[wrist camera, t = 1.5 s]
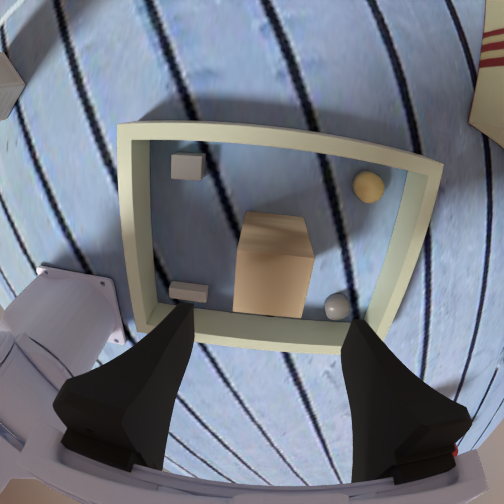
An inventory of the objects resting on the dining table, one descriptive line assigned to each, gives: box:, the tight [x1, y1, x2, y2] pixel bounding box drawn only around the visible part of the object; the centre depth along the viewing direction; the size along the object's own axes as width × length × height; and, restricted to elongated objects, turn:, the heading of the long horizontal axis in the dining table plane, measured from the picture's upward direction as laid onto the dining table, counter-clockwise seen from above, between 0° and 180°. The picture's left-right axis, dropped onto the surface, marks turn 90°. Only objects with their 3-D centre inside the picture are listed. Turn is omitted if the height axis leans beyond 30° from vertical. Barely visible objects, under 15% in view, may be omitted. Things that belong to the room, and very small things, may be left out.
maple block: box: [233, 211, 315, 318], centre depth 19 cm, size 4×4×6 cm
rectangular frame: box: [117, 120, 444, 355], centre depth 20 cm, size 20×16×3 cm
